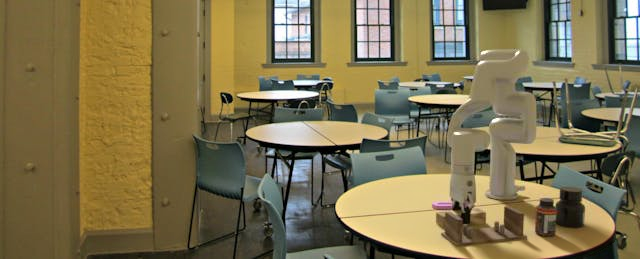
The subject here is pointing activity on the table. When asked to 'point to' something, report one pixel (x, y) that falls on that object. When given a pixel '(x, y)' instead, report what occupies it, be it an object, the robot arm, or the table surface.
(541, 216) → the supplement bottle
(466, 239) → the holder
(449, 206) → the bracket
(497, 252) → the table surface
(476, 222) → the plank
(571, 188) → the ink bottle
